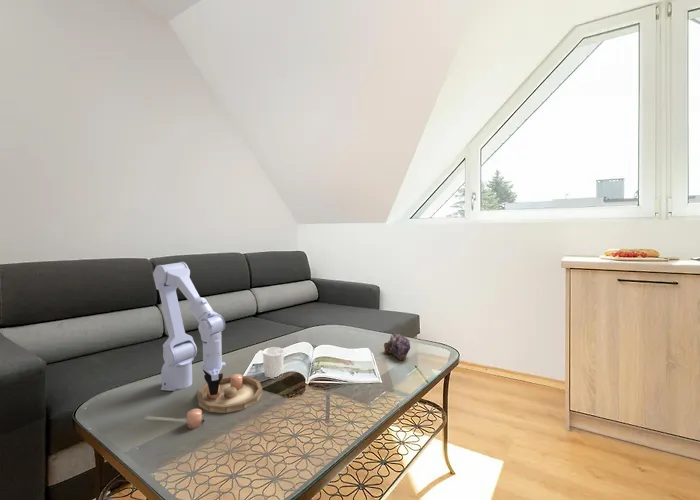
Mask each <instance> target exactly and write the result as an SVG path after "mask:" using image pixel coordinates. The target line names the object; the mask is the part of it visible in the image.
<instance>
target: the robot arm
mask: <svg viewBox="0 0 700 500" xmlns="http://www.w3.org/2000/svg"><path fill="white" fill-rule="evenodd" d="M190 275H191V269H190V268H189V266H188V264H187V263H186V262H184V261H179V262H173V263H168V264H167V263H166V264H158V265H156V266H155V268H154V270H153V272H152V276H153V281H154V284H155V288H156V290H158V293H159V296H160V300H161V301H160V303H161V306H162V310H163V316H164V319H165V325H166V329H167V335H168V338H166V339H167V340H166V341H164V343H163V344H162V351H163V352H162V358H163V361H164V363H163V365H162V367H161V371H160V373H161V375H160V376H161V388H160V390H161V391H166V392H167V391H169V392H170V391H171V392H174V391H176V390H182V389H186V388H189V387H190V386H192V384H193V365H192V364H193V363H192V361H194V359H195V357H196V355H197V353H198V348H197V345H196V343H195V341H194V338H193V336H192V335H189V334H187V333H186V331H185V326H184V323H183V322H184V321H183V318H182V313H181V308H180V304H179V300H178V295H177V289H178V290H179V291H180V292H181V293H182V294H183V296H184V297H185V298H186V299H187V301H188V302H189V307H188V308H189V310H190V311H191V313H192V314H193V315H192V316H194V318H195V319H196V321H197V322H198V327H197V328H198V332H199V334H200V339H201V341H202V362H203V363H202V372H203V373H204V375H203V378H204V380H205V383H207V384H208V387H209V392H210V395H216V394H217V393H218V389H219V384H220V381H221V379H222V378H223V377H224V373H222V372H221V373H220V371H222V368H223V367H226V362H225V361H223V359H222V358H223V357H222V356H223V355H222V354H223V353H222V352H223V351H222V350H223V349H222V332H223V331H224V330H225V329H226V321H225V319H224V317H223V316H222V315H221V314H219V313H218V312H216V311H214V309H213V307H212V306H211V305H210V304H209V302H208V300H207V299H206V298H205V297H201V296H200V294H199V293H198V291H197V289H196V287H195V285H194V283H193V281H192V279H191V278H190Z"/></svg>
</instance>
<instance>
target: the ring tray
mask: <svg viewBox="0 0 700 500" xmlns="http://www.w3.org/2000/svg"><path fill="white" fill-rule="evenodd" d="M231 376H232V375H227V376H226V375H225V376H223V378H222V379H221V381H220V395H219V396H218V397H217V398H208V397H207V382H205V383H204V384H203V385H202V386H201V387H200V388H199V389H198V390H197V405H198V407H200V408H202V409H204V410H205V411H208V412H210V413H221V414H222V413H223V414H227V413H233V412H238V411H243V410H245V409H247V408H249V407H250V406H253V405H254V404H256V403H257V402H259V400H260V398H261V397H262V395H263V386H262V384H261V382H260V380H259V379H255V378H253V377H251V376H249V375H242V388H241V389H239V390H237V389H236V388H235V387H231Z"/></svg>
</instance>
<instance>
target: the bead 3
mask: <svg viewBox="0 0 700 500" xmlns="http://www.w3.org/2000/svg"><path fill="white" fill-rule="evenodd" d="M230 376H231V387H235V388H236V389H237V390H239V389H241V388H242V376H243V374H242V373H234V374H231V375H230Z"/></svg>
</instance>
